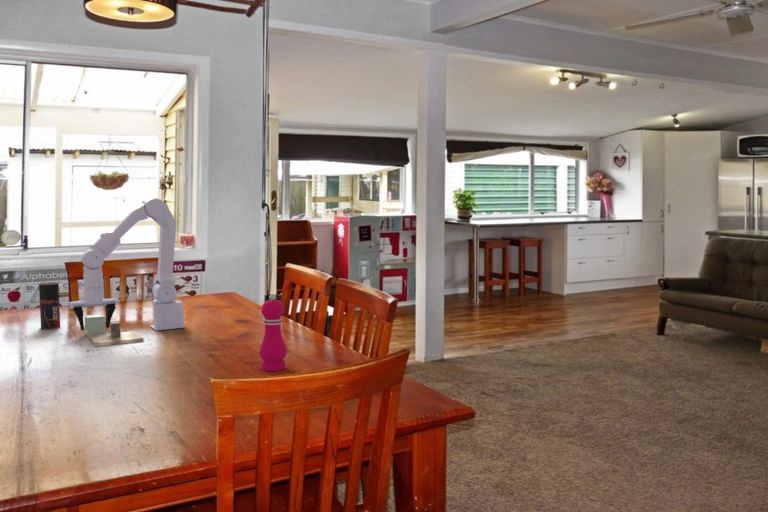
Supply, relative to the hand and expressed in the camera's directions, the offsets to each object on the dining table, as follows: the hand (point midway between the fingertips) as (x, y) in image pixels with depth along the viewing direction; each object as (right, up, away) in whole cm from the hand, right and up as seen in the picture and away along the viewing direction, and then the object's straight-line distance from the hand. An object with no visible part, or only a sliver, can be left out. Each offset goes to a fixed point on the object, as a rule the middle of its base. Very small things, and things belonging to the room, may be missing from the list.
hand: (95, 328), depth 221 cm
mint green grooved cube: (0, -2, 0) cm, 2 cm away
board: (+10, -3, -8) cm, 13 cm away
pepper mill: (+64, -7, -39) cm, 76 cm away
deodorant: (-19, -1, +10) cm, 22 cm away
